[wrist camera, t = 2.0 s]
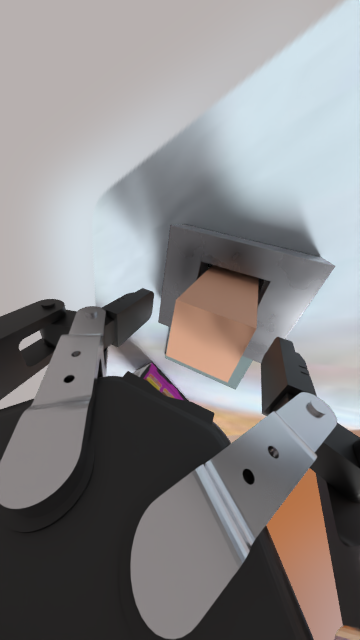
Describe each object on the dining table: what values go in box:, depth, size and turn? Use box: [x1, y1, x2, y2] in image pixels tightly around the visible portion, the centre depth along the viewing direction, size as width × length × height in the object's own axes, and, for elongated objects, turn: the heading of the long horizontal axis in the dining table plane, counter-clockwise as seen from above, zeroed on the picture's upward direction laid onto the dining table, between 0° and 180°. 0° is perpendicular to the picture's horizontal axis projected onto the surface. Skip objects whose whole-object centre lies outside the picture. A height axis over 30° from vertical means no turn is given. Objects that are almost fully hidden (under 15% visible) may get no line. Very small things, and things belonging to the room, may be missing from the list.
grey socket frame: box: [158, 224, 335, 363], centre depth 15 cm, size 11×9×3 cm
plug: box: [166, 265, 259, 383], centre depth 13 cm, size 4×4×9 cm
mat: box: [165, 327, 253, 389], centre depth 21 cm, size 10×6×1 cm, turn 79°
